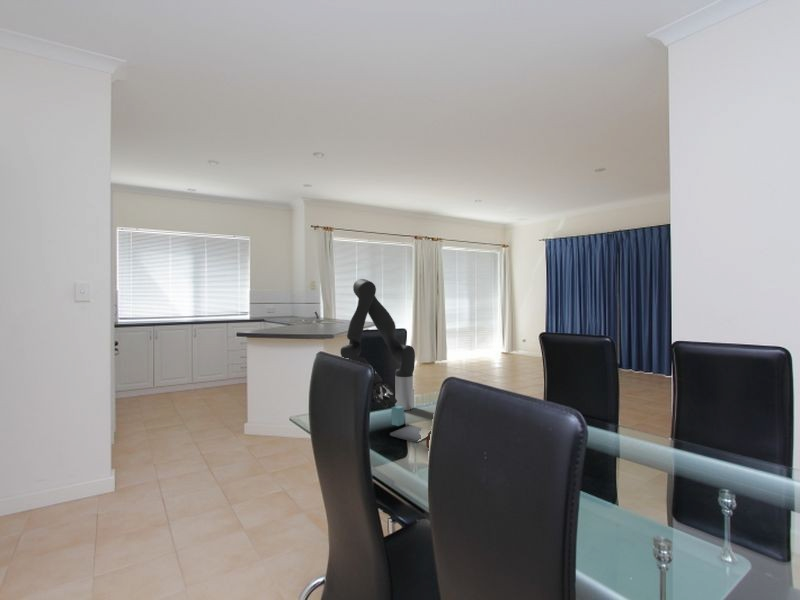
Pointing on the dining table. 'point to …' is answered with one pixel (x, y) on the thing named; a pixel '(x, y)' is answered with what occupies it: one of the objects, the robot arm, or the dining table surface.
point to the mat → (408, 433)
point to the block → (397, 415)
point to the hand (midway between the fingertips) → (391, 404)
